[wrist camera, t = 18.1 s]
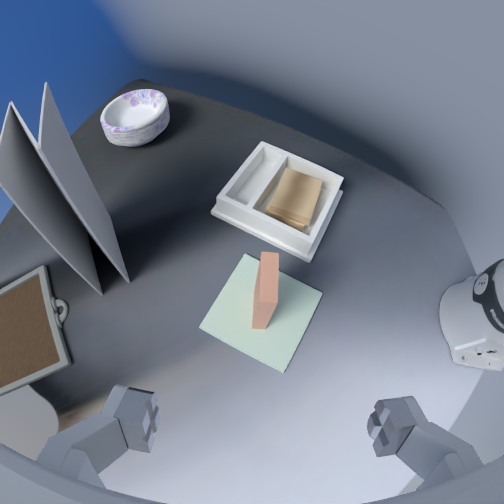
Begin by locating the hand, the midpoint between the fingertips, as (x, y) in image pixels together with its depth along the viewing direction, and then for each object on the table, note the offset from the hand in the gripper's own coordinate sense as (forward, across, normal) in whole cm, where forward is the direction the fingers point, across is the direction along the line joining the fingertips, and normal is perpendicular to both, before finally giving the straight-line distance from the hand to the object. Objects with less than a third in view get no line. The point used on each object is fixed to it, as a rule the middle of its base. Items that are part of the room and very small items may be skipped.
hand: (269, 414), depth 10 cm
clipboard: (+26, +43, +22) cm, 55 cm away
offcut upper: (+45, -7, -2) cm, 45 cm away
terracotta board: (+33, -2, +14) cm, 36 cm away
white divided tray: (+48, -5, -1) cm, 48 cm away
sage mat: (+33, -2, +14) cm, 36 cm away
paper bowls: (+60, +27, -13) cm, 68 cm away
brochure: (+39, +25, +9) cm, 47 cm away
